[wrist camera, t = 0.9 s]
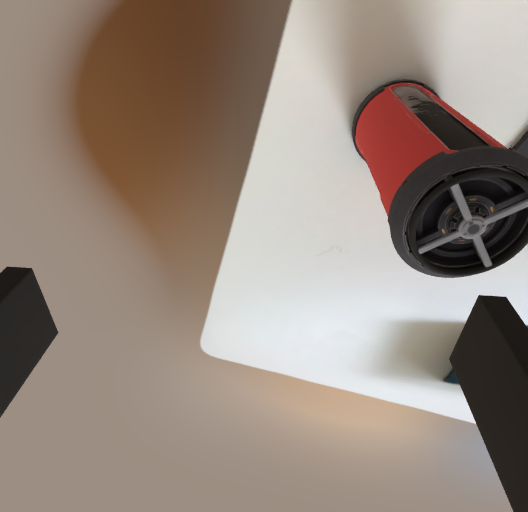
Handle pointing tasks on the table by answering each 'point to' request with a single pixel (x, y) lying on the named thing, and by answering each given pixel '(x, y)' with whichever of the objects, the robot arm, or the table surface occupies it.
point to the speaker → (442, 182)
